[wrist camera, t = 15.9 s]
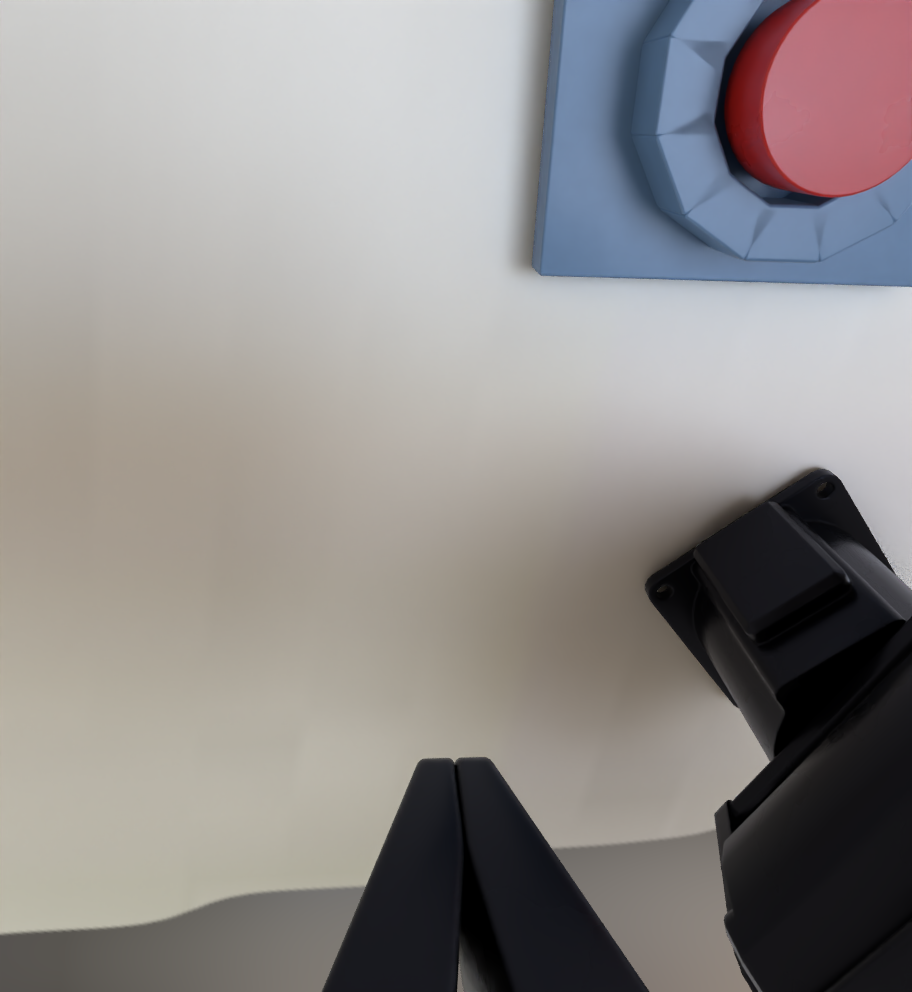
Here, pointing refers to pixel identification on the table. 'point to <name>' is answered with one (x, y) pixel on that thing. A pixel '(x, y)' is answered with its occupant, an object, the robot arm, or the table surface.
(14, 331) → the table surface
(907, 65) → the red button
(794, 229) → the button box
